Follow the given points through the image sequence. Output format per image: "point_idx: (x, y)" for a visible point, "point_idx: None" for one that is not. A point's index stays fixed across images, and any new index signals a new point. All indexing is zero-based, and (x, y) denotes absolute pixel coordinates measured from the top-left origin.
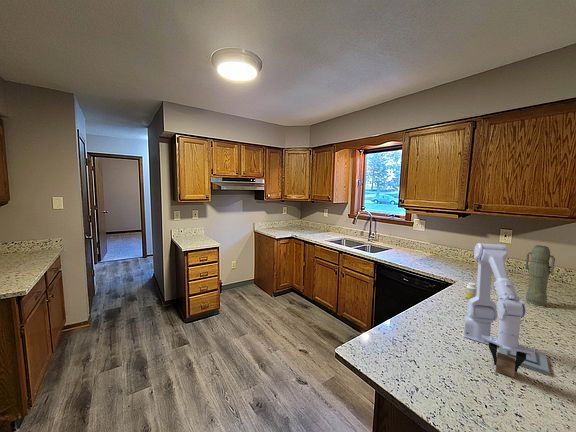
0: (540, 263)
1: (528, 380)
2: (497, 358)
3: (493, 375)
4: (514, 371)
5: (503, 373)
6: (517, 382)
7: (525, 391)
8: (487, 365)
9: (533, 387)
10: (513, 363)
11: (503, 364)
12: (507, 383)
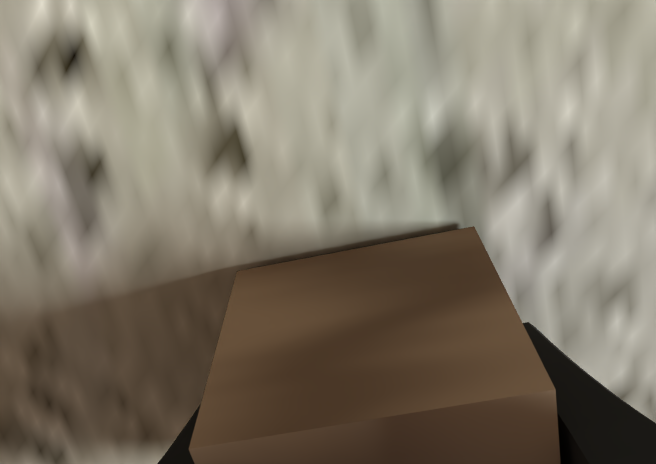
0: None
1: (107, 377)
2: (542, 397)
3: (481, 81)
4: (220, 338)
5: (370, 250)
6: (174, 205)
7: (10, 43)
8: (596, 301)
9: (2, 264)
10: (228, 461)
11: (398, 349)
12: (260, 30)
